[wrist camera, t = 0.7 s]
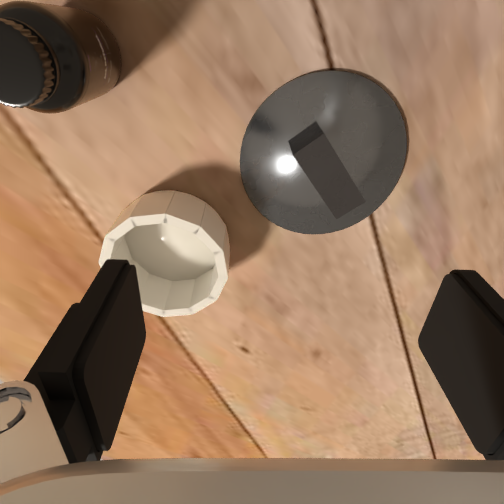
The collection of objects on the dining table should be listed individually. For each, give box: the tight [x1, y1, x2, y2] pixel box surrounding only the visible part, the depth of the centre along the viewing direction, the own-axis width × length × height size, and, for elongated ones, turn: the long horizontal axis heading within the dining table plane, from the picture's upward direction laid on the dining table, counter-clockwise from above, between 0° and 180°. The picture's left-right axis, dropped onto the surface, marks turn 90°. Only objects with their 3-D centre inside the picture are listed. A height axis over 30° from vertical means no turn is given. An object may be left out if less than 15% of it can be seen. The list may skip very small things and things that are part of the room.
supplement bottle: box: [0, 1, 121, 113], centre depth 26 cm, size 7×7×12 cm
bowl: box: [99, 190, 230, 317], centre depth 39 cm, size 13×13×6 cm
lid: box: [240, 70, 407, 234], centre depth 34 cm, size 17×17×5 cm
